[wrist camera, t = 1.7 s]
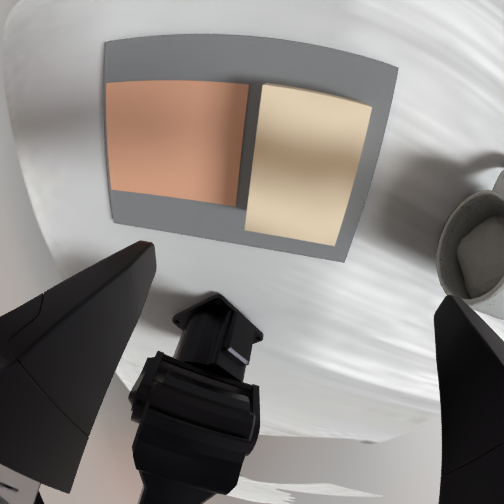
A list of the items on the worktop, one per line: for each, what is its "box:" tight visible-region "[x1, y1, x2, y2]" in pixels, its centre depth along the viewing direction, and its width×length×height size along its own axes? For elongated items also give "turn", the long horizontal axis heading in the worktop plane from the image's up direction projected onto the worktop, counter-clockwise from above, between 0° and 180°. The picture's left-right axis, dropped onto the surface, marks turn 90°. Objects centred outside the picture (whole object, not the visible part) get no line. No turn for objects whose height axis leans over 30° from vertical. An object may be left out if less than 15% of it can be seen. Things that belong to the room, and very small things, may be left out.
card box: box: [245, 83, 372, 246], centre depth 16 cm, size 8×6×2 cm, turn 173°
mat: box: [104, 34, 398, 263], centre depth 17 cm, size 14×18×1 cm
